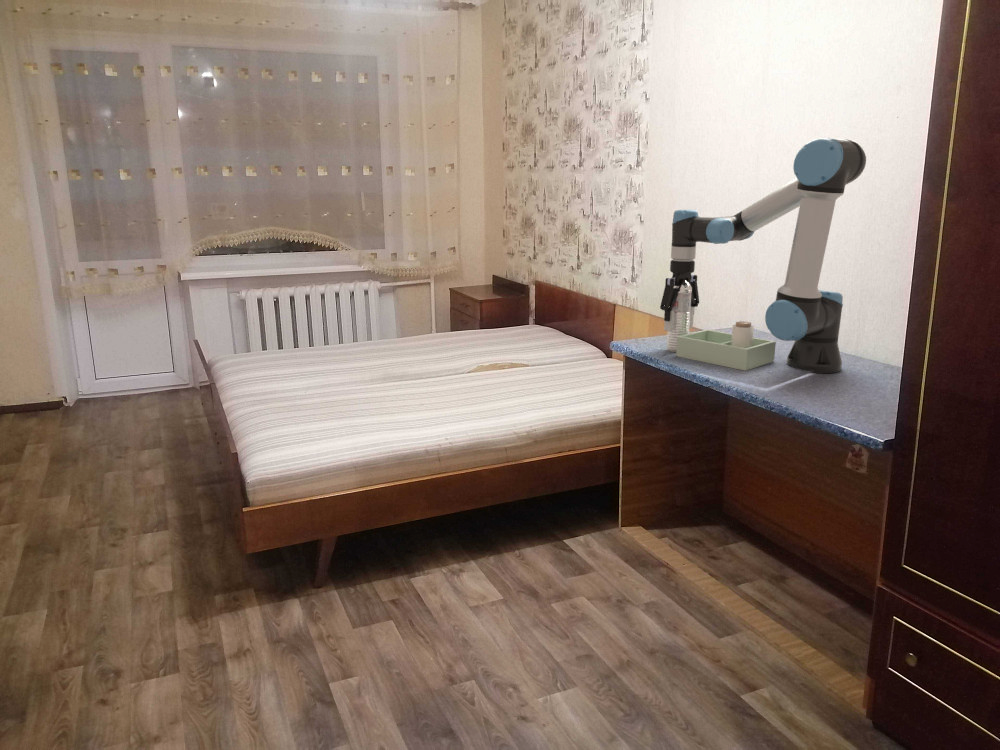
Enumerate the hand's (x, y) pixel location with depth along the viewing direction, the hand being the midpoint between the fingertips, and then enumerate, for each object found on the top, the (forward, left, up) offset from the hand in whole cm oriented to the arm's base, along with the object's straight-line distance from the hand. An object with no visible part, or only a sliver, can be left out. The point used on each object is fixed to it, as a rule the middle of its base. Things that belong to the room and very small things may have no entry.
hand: (678, 328), depth 243 cm
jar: (-24, +1, -7) cm, 24 cm away
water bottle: (0, 0, -8) cm, 8 cm away
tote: (-18, +1, -7) cm, 19 cm away
